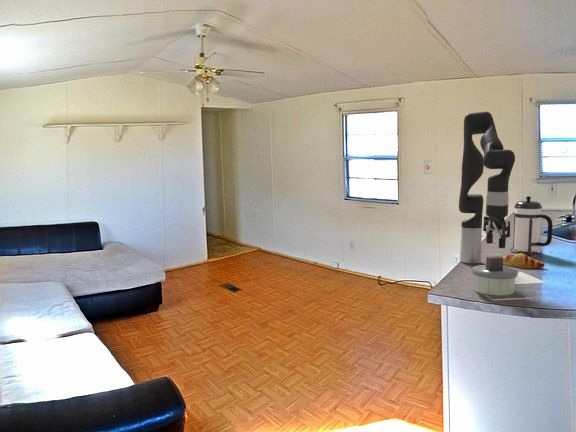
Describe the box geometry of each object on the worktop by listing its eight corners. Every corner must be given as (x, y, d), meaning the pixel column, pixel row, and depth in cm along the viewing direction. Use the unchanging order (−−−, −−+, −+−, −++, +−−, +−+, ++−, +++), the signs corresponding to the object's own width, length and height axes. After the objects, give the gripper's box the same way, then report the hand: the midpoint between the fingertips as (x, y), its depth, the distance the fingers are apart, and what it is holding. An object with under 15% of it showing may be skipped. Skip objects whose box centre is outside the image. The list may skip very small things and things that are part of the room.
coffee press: (512, 255, 223) (515, 197, 218) (508, 249, 238) (510, 194, 233) (551, 257, 217) (554, 197, 213) (543, 250, 232) (546, 194, 228)
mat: (486, 275, 188) (486, 273, 188) (521, 273, 190) (521, 272, 190) (508, 285, 173) (508, 284, 172) (546, 283, 174) (546, 282, 174)
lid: (464, 268, 173) (464, 253, 173) (502, 267, 175) (502, 252, 174) (485, 280, 158) (485, 263, 157) (527, 277, 159) (527, 261, 158)
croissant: (492, 271, 207) (490, 258, 203) (498, 258, 213) (496, 245, 209) (542, 277, 193) (541, 264, 189) (547, 263, 199) (546, 250, 195)
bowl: (467, 286, 173) (467, 269, 172) (500, 284, 174) (501, 267, 173) (485, 297, 160) (486, 279, 159) (522, 295, 161) (522, 277, 160)
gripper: (477, 201, 169) (476, 242, 171) (498, 206, 155) (496, 250, 157) (496, 201, 170) (494, 241, 172) (518, 205, 155) (516, 249, 158)
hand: (495, 245), depth 165 cm, fingers open, 8 cm apart
